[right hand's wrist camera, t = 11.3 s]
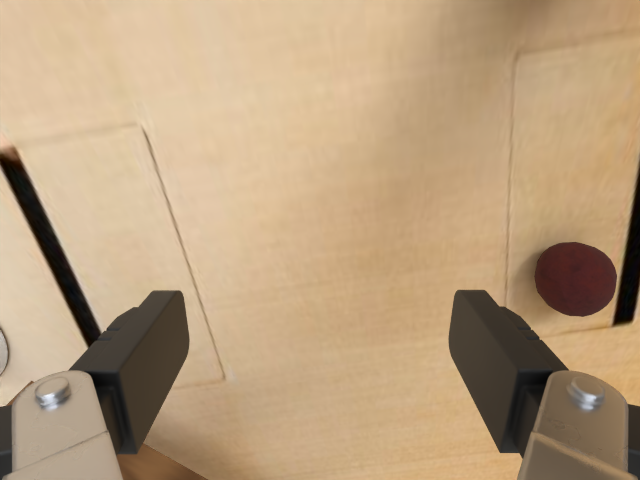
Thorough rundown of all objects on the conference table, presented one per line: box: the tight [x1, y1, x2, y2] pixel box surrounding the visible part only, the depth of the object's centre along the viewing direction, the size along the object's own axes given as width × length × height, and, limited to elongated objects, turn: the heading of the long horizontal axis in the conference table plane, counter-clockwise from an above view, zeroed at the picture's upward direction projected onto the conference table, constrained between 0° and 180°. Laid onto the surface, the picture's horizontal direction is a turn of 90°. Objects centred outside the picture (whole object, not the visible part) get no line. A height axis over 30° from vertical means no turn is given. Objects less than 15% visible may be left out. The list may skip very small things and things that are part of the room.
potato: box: [535, 242, 617, 317], centre depth 40 cm, size 7×8×7 cm
